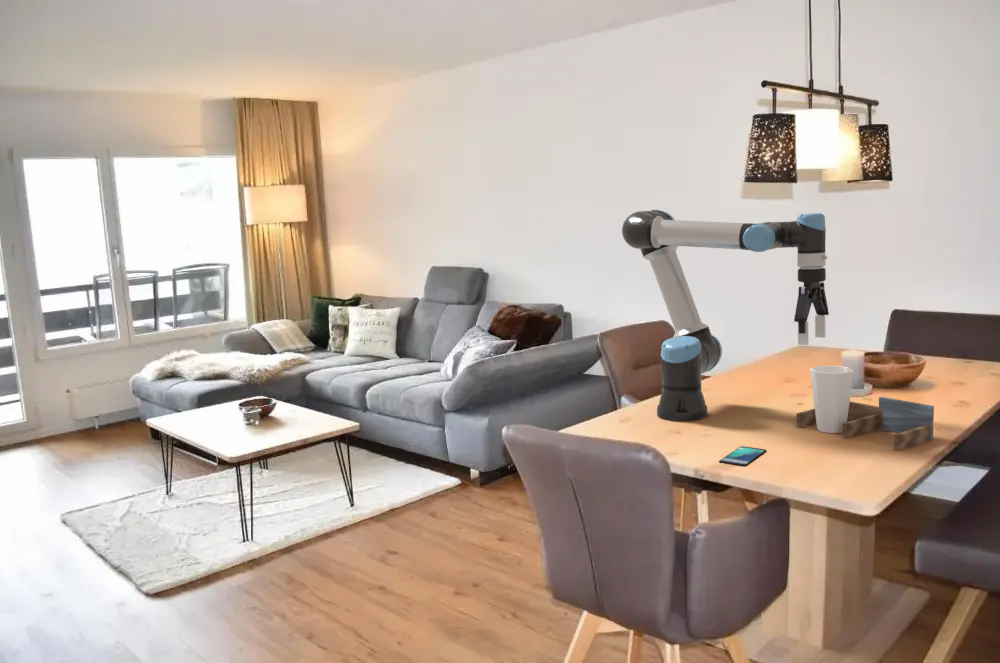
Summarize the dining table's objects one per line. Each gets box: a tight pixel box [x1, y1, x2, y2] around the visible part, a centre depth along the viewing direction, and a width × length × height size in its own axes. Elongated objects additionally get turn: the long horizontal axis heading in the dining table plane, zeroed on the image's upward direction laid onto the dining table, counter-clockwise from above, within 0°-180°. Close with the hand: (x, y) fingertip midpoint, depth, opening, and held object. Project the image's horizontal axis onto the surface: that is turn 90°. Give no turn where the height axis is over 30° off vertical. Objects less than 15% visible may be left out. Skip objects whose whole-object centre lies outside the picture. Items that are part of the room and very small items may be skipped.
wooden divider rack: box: [795, 396, 935, 452], centre depth 222 cm, size 15×31×9 cm, turn 32°
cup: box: [809, 365, 855, 434], centre depth 226 cm, size 11×10×17 cm
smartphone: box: [718, 445, 767, 468], centre depth 208 cm, size 7×1×15 cm
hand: (811, 340), depth 238 cm, fingers open, 13 cm apart
